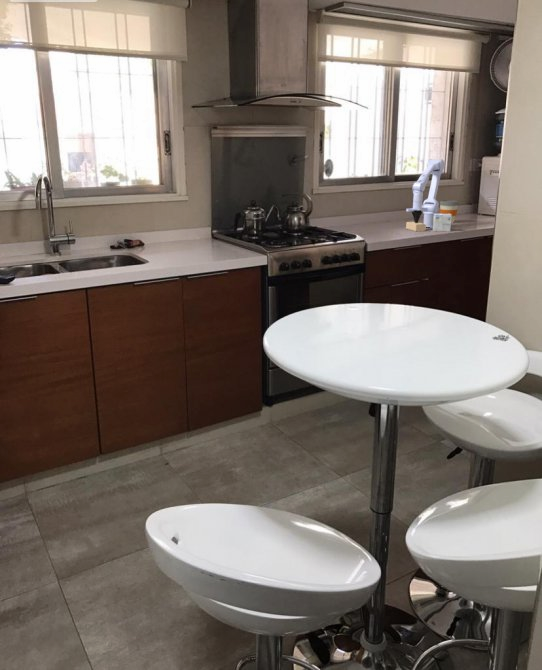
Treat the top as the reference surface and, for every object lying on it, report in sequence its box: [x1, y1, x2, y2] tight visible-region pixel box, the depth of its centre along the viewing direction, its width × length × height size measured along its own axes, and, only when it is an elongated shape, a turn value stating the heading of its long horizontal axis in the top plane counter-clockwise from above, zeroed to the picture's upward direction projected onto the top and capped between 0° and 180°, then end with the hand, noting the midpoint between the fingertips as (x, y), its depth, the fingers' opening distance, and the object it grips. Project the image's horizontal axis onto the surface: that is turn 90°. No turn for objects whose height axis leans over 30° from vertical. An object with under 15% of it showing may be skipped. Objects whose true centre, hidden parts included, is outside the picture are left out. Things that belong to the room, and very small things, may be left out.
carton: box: [405, 222, 427, 232], centre depth 387 cm, size 13×7×4 cm, turn 17°
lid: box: [406, 221, 425, 225], centre depth 387 cm, size 13×6×1 cm, turn 17°
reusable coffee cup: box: [439, 199, 459, 223], centre depth 422 cm, size 13×13×15 cm
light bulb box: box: [432, 213, 452, 232], centre depth 384 cm, size 11×7×11 cm, turn 84°
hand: (416, 222), depth 386 cm, fingers closed
